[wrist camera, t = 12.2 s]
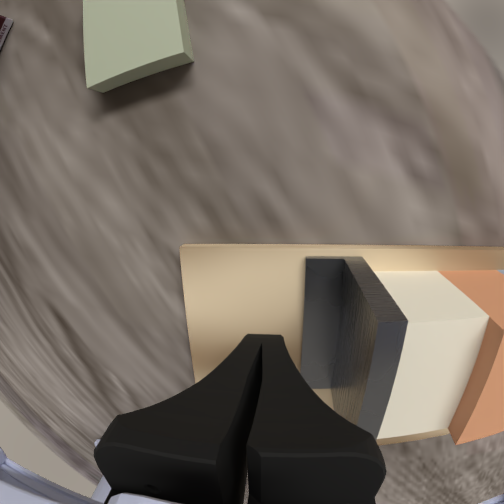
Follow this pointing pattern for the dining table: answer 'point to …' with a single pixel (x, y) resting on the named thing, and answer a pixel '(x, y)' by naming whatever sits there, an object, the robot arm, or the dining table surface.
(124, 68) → the flat book
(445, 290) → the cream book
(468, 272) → the terracotta cube
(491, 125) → the dining table surface
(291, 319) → the shelf board
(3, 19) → the supplement box
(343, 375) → the bookend
